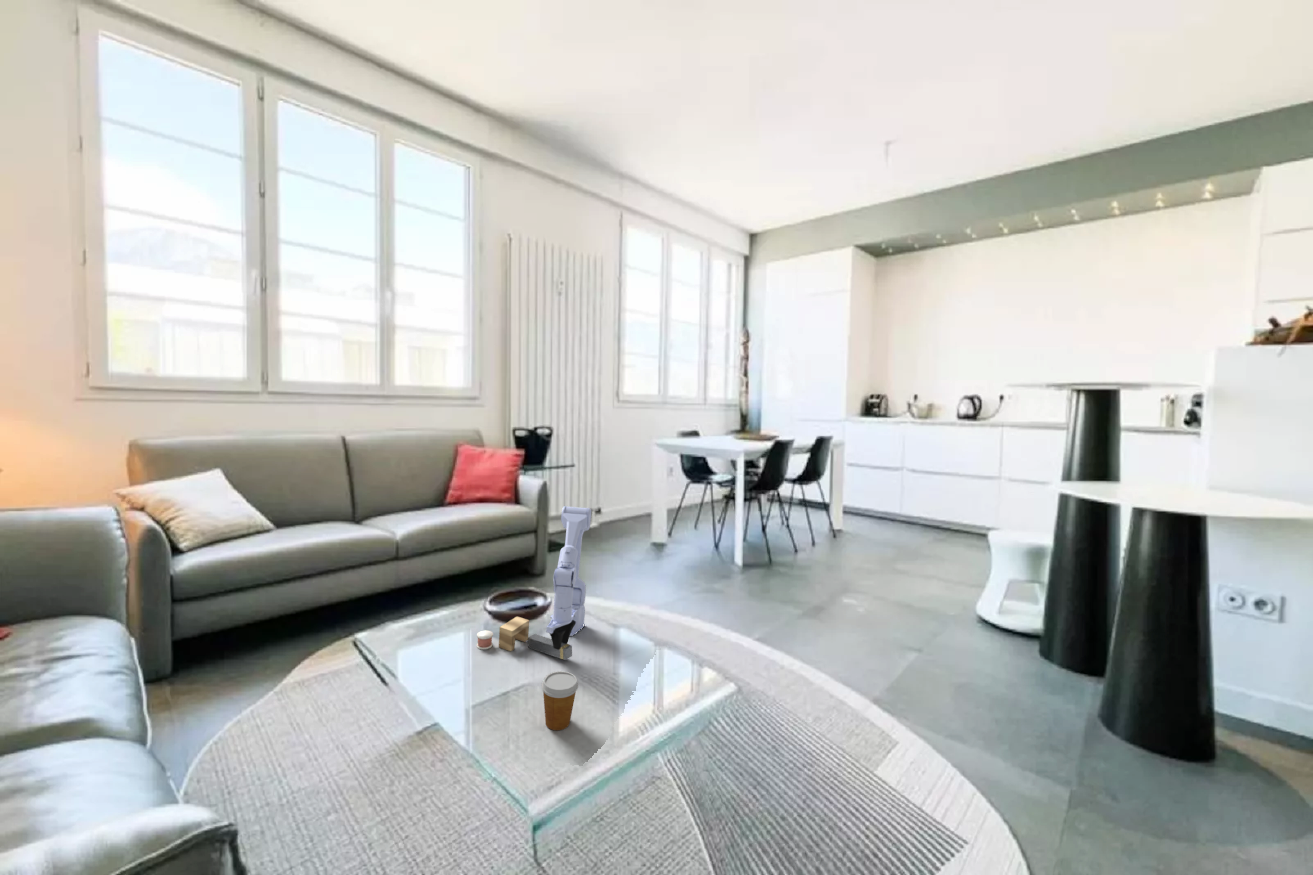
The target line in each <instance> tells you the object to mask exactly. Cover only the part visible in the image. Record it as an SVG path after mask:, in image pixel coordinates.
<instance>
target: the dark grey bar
mask: <svg viewBox="0 0 1313 875" xmlns="http://www.w3.org/2000/svg"><path fill="white" fill-rule="evenodd" d="M527 642H528V643H527V646H528V648H529V649H531V650H534V651H538V652H540V653H543V654H546V655H549V656H553V657H554V658H559V659H560V660H563V661H567V660H568V659H570V658H571V657H573V645H572V644H568V643H567V644H565V643H561V648H560V649H559V650H558V649H555V648H554V647H553V643H552V638H551V637H546V636H543V635H540V634H537V633H534V634H532V635H530V636H528V640H527Z"/></svg>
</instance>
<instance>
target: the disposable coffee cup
mask: <svg viewBox="0 0 1313 875" xmlns="http://www.w3.org/2000/svg"><path fill="white" fill-rule="evenodd" d="M540 686H541V691H542V693H543V707H544V708H543V709H544V717H545V718H544V720H545V725H546V727H547V728H548V729H550V730H552V731H561V730H565V729H567V728H568V727H569V726H570V723H571V718H572V714H573V708H574V702H575V699H576V692H577V690H578V688H579V681H578V680H577V676H576V675H575V674H573V673H571V672H569V671H563V670H561V671H559V670H557V671H554V672H550V673H548V674H547V675H545V677H544V678H543V681H542V682H541V685H540Z"/></svg>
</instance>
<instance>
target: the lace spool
mask: <svg viewBox="0 0 1313 875" xmlns="http://www.w3.org/2000/svg"><path fill="white" fill-rule="evenodd" d="M493 636H494V632H493V631H492V630H481V631H478V632H477V633H476V637H477V643H476V648H477V649H478V650H489V649H491V648H492V647H493Z"/></svg>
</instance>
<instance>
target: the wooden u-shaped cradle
mask: <svg viewBox="0 0 1313 875" xmlns="http://www.w3.org/2000/svg"><path fill="white" fill-rule="evenodd" d="M529 627H530V620H529V619H527V618H523V617H520V616H515V617H514V618H512V619H510V620H509V621H508V622H506V623H504V624H502V625H501V626H499V632H498V634H499V635H498V636H499V637H498V648H499V649H503V650H506V651H508V652H513V651H514V650H515V648H516V647H515V646H516V640H517V641H520V642H523V643H526V642H528V637H529V635H530V634H529V632H530V628H529Z"/></svg>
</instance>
